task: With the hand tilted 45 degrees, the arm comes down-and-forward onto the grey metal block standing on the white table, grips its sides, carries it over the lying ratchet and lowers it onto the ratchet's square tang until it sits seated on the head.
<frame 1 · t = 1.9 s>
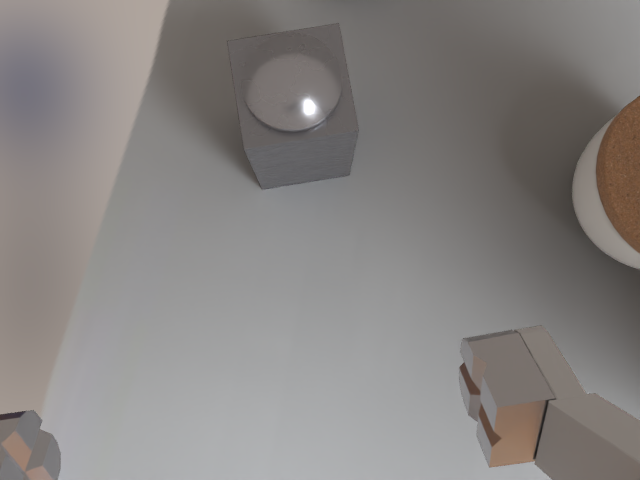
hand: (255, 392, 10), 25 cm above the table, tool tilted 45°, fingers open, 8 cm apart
lidded jar: (623, 203, 37), on the table
grey metal block: (298, 140, 37), on the table
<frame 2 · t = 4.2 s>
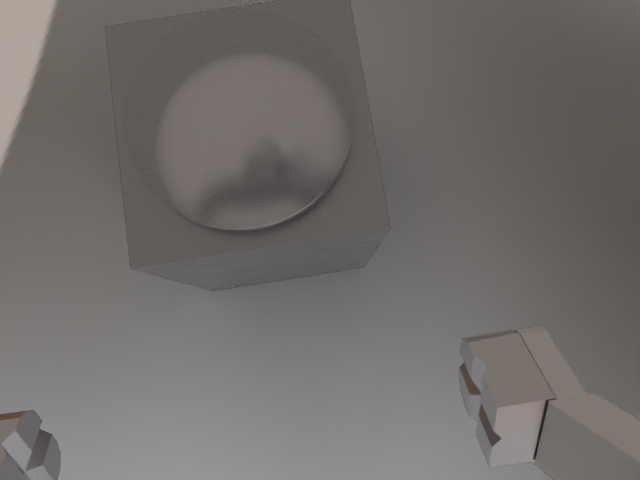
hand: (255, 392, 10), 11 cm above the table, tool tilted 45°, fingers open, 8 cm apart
grey metal block: (277, 204, 22), on the table
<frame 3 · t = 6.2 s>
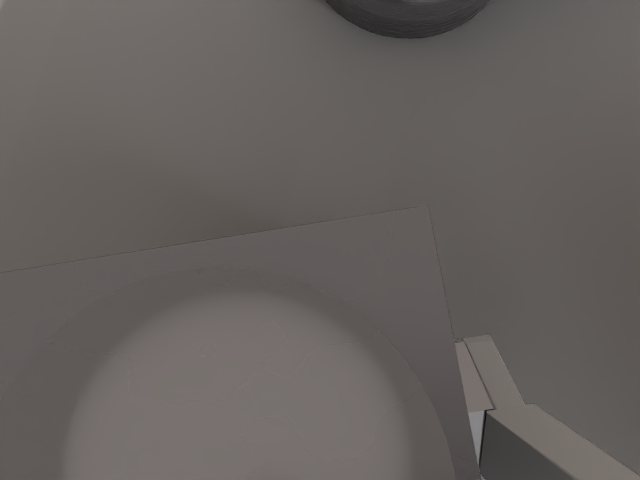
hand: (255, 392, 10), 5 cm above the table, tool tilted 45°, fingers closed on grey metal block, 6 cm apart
grey metal block: (279, 392, 15), on the table, touching gripper
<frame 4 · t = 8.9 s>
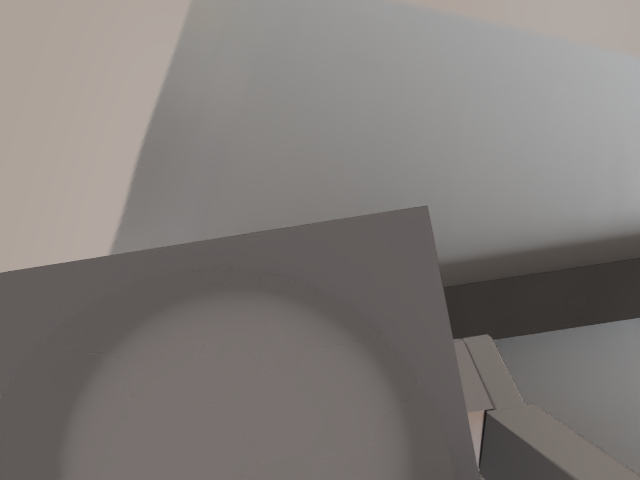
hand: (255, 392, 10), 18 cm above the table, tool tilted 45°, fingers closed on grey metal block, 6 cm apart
ratchet: (315, 335, 28), on the table
grey metal block: (278, 392, 15), point 13 cm above the table, touching gripper
when the fingers open (8 cm above the table, at t = 11.7 s): grey metal block stays where it is, resting on ratchet.
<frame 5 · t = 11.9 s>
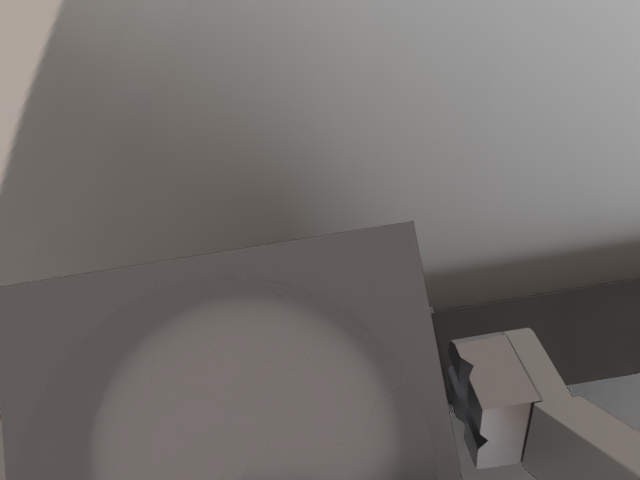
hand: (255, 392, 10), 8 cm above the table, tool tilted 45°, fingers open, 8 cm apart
ratchet: (286, 377, 19), on the table
grey metal block: (280, 388, 16), point 2 cm above the table, touching ratchet
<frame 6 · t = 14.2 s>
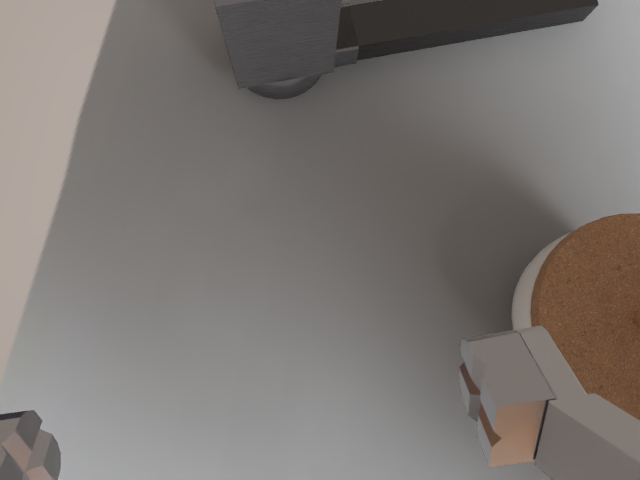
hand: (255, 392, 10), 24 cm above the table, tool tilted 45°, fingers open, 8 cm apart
lidded jar: (567, 317, 35), on the table
ratchet: (279, 53, 37), on the table
grey metal block: (277, 35, 34), point 2 cm above the table, touching ratchet
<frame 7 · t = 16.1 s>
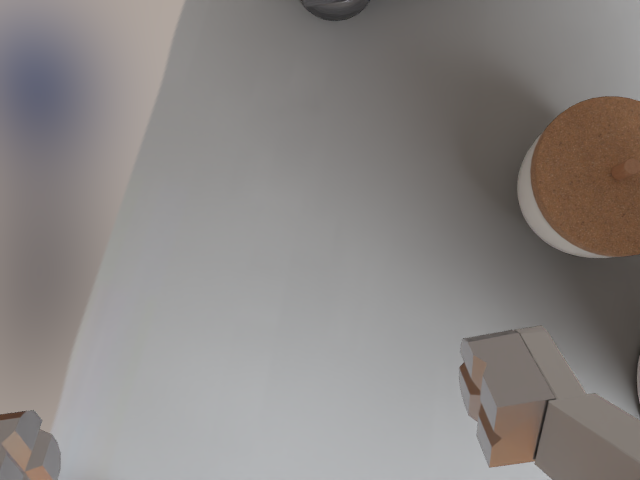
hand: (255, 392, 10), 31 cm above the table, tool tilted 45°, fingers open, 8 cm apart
lidded jar: (564, 200, 43), on the table
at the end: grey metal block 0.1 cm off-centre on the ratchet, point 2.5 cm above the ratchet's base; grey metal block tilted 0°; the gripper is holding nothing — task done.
